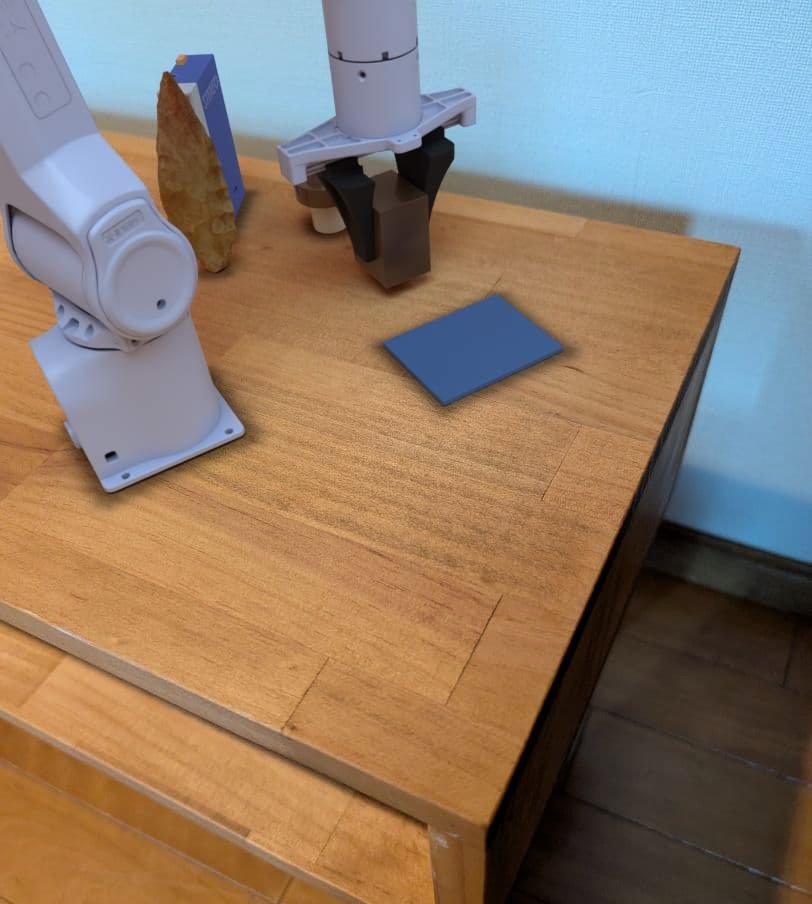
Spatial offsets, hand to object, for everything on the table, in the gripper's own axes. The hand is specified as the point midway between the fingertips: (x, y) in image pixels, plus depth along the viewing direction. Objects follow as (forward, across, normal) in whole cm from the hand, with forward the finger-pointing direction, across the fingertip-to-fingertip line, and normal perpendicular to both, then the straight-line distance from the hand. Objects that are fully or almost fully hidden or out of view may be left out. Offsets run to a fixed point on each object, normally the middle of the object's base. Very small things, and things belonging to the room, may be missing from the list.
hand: (389, 246), depth 59 cm
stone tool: (+3, -11, +10) cm, 15 cm away
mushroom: (+3, 0, +10) cm, 11 cm away
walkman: (+3, -7, +18) cm, 20 cm away
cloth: (+3, 0, -11) cm, 11 cm away
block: (+2, 0, 0) cm, 2 cm away
